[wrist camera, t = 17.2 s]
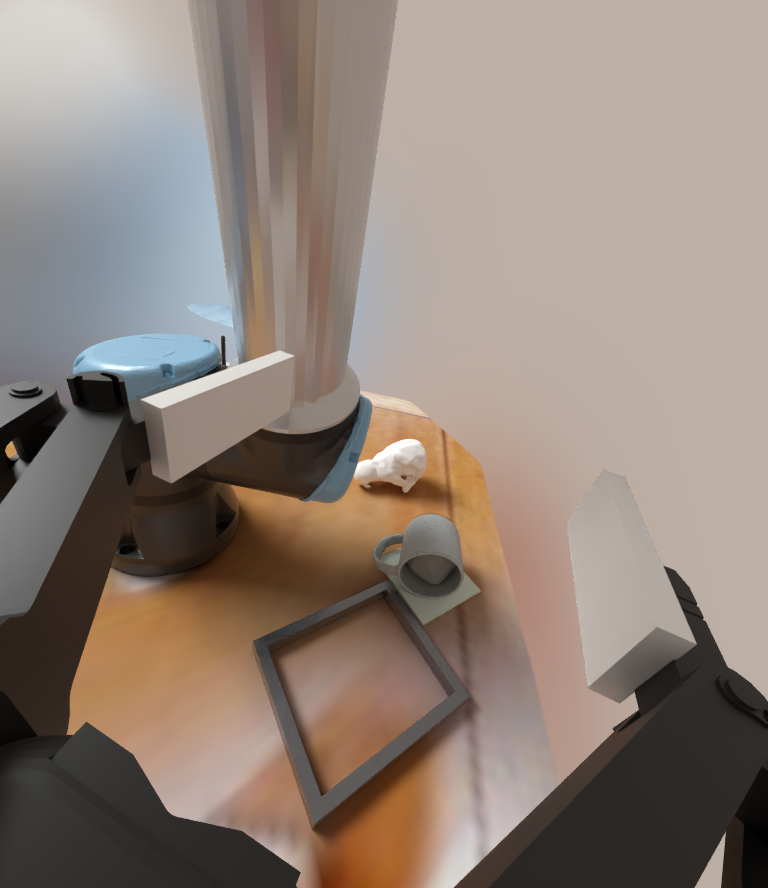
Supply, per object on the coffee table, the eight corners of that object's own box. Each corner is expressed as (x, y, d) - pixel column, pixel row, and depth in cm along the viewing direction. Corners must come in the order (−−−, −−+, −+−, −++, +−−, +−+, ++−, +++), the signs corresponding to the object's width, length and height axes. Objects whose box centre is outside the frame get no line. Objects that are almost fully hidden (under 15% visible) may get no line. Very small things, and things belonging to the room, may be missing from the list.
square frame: (252, 649, 34) (253, 641, 33) (385, 587, 43) (388, 579, 42) (312, 829, 25) (314, 824, 24) (464, 703, 34) (469, 696, 33)
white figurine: (434, 451, 55) (361, 459, 51) (424, 492, 60) (356, 501, 56) (418, 430, 60) (351, 435, 56) (410, 469, 65) (347, 476, 61)
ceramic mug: (449, 553, 49) (467, 514, 45) (451, 606, 42) (473, 564, 38) (376, 535, 49) (387, 494, 45) (366, 585, 42) (378, 541, 38)
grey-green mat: (375, 559, 46) (376, 557, 46) (431, 537, 52) (432, 535, 52) (421, 626, 40) (422, 624, 40) (479, 592, 45) (480, 590, 45)
